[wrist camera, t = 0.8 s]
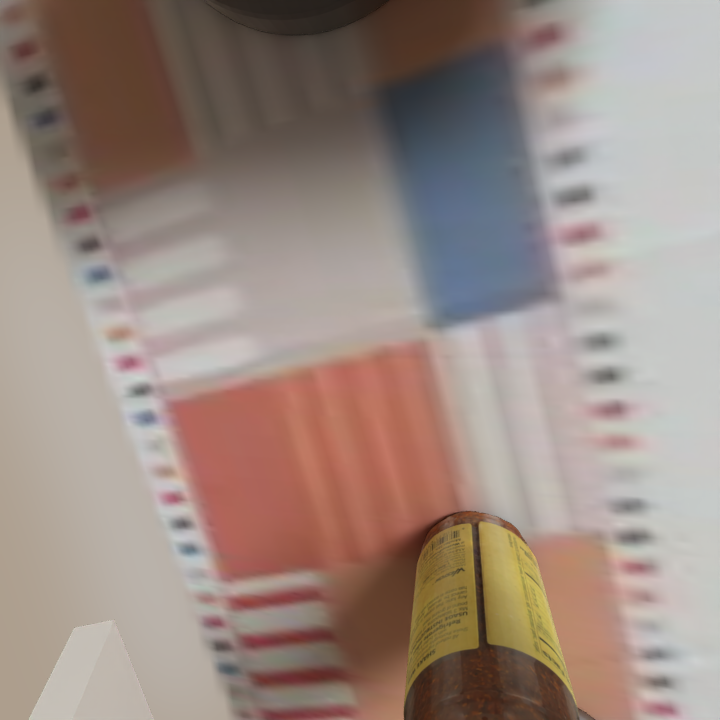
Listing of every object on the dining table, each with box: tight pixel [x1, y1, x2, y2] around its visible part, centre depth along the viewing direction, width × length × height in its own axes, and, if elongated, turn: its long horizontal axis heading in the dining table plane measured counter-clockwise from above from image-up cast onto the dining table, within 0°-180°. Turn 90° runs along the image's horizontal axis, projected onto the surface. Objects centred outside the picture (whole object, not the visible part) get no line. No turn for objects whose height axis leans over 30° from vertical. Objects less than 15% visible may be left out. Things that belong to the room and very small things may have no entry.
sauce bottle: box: [404, 511, 580, 720], centre depth 20 cm, size 7×6×20 cm
